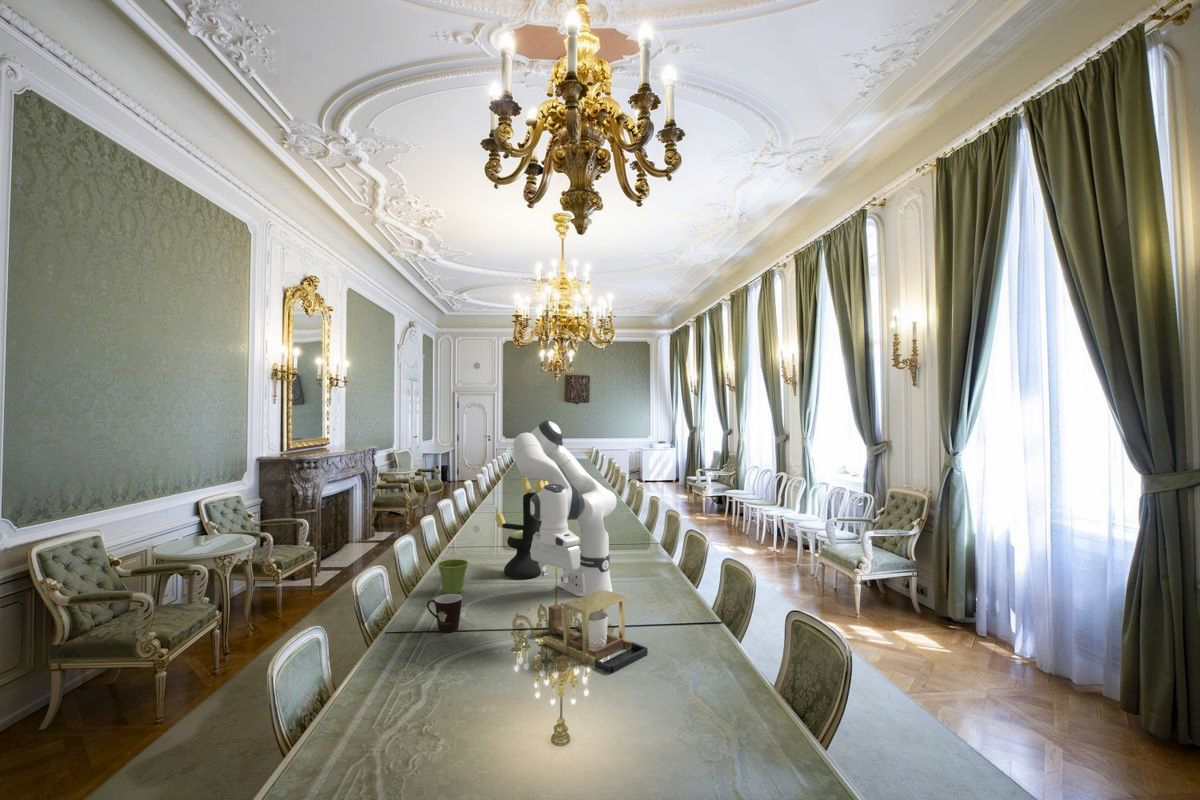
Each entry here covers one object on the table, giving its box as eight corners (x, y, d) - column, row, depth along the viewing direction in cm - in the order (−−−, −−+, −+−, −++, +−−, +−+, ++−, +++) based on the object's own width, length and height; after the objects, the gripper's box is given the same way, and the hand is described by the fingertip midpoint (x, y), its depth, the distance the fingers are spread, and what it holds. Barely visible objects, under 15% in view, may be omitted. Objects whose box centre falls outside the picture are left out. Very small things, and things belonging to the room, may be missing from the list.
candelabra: (529, 564, 254) (529, 466, 254) (560, 575, 238) (561, 470, 238) (493, 573, 240) (494, 469, 241) (525, 585, 225) (525, 473, 225)
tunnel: (542, 644, 170) (542, 595, 170) (581, 627, 182) (581, 582, 183) (610, 674, 151) (610, 620, 151) (649, 654, 163) (649, 603, 164)
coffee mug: (467, 629, 181) (467, 598, 181) (443, 637, 175) (443, 605, 175) (447, 619, 189) (447, 590, 189) (424, 627, 183) (424, 596, 183)
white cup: (588, 657, 161) (588, 622, 161) (577, 646, 168) (577, 613, 168) (612, 651, 165) (612, 617, 165) (600, 641, 172) (600, 609, 172)
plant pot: (473, 593, 215) (473, 564, 215) (442, 599, 209) (443, 569, 209) (462, 585, 225) (462, 557, 225) (432, 590, 218) (433, 561, 219)
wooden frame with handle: (537, 635, 175) (537, 610, 175) (565, 624, 184) (565, 600, 184) (595, 661, 158) (595, 632, 158) (622, 647, 167) (623, 620, 167)
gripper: (526, 532, 184) (526, 574, 184) (568, 542, 170) (568, 588, 170) (540, 529, 188) (540, 570, 188) (583, 539, 174) (583, 583, 174)
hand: (554, 579), depth 179 cm, fingers open, 8 cm apart
